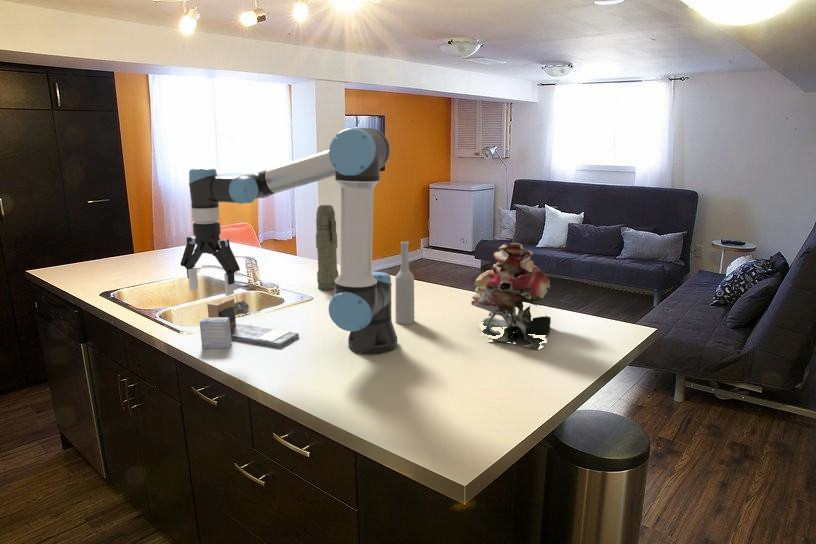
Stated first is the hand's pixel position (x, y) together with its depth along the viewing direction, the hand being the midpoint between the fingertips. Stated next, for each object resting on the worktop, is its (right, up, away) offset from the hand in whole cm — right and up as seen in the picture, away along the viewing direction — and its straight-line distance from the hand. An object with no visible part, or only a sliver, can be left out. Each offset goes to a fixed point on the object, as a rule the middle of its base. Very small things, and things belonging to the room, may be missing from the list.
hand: (211, 292), depth 168 cm
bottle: (+58, -11, +27) cm, 65 cm away
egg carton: (-5, -9, +37) cm, 38 cm away
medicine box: (0, -17, +4) cm, 17 cm away
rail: (+8, -15, +12) cm, 21 cm away
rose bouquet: (+92, -14, +16) cm, 95 cm away
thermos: (+25, -1, +71) cm, 75 cm away
